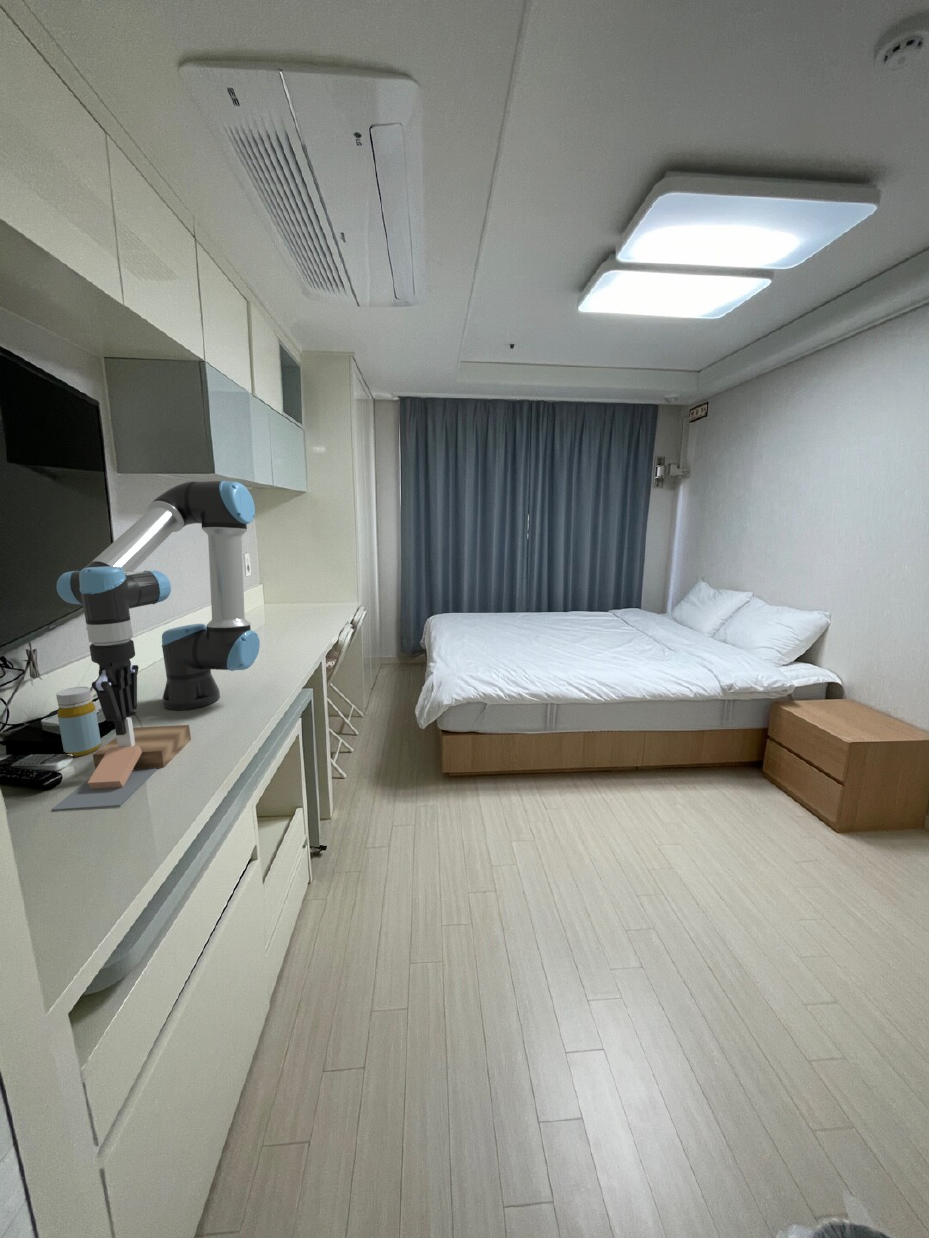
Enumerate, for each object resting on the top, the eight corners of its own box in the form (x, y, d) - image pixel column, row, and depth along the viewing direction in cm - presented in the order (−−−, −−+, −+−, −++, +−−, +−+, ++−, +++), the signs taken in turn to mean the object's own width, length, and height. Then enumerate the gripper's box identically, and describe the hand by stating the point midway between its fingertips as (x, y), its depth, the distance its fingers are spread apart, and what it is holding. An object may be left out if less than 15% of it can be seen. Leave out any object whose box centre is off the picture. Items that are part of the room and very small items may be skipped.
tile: (112, 753, 105) (109, 747, 104) (142, 751, 106) (139, 745, 105) (91, 788, 98) (87, 782, 97) (123, 787, 99) (119, 780, 98)
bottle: (105, 742, 120) (96, 684, 117) (96, 754, 113) (86, 693, 110) (71, 746, 117) (60, 687, 114) (59, 759, 111) (48, 697, 108)
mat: (97, 773, 105) (97, 771, 105) (156, 770, 106) (156, 768, 106) (51, 811, 91) (51, 809, 91) (120, 806, 93) (120, 804, 93)
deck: (130, 742, 119) (128, 727, 119) (191, 739, 121) (189, 724, 120) (95, 771, 106) (92, 754, 105) (163, 767, 107) (161, 750, 107)
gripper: (110, 634, 107) (125, 734, 112) (70, 649, 94) (89, 761, 99) (146, 633, 108) (159, 732, 112) (112, 648, 95) (128, 759, 100)
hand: (126, 746), depth 106 cm, fingers closed
